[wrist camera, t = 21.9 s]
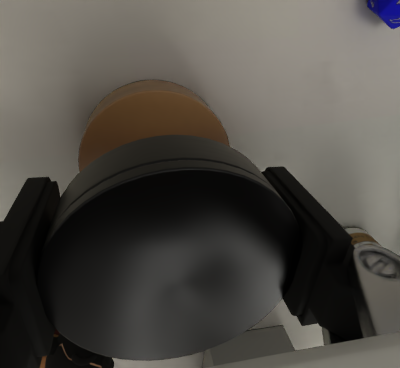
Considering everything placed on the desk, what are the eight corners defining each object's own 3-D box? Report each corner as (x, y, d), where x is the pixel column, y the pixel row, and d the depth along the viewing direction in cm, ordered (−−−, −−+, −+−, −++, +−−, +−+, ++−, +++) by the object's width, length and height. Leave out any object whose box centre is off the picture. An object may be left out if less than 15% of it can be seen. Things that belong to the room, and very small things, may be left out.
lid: (254, 296, 12) (275, 342, 10) (71, 321, 10) (61, 380, 9) (293, 132, 8) (333, 162, 7) (28, 134, 7) (-1, 174, 5)
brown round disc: (214, 200, 18) (223, 221, 16) (92, 208, 16) (88, 232, 15) (226, 81, 14) (239, 91, 13) (73, 78, 13) (66, 88, 11)
